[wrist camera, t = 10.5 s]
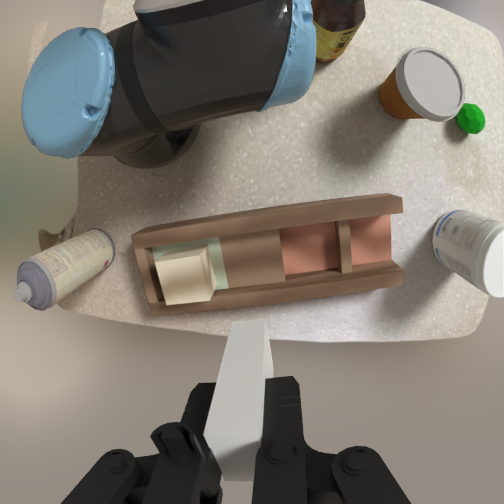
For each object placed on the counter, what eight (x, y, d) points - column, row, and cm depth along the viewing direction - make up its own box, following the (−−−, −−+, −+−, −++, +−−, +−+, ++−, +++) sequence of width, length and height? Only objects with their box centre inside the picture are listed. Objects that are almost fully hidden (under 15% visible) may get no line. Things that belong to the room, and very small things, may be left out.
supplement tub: (473, 259, 42) (524, 291, 28) (430, 269, 43) (478, 309, 29) (473, 204, 39) (531, 222, 25) (428, 210, 40) (484, 232, 26)
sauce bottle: (334, 70, 36) (377, 8, 17) (293, 53, 35) (307, -22, 16) (349, 37, 34) (394, -32, 15) (310, 20, 34) (330, -60, 15)
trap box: (146, 227, 44) (130, 235, 39) (387, 193, 40) (402, 197, 35) (164, 299, 47) (152, 315, 42) (390, 270, 43) (403, 284, 38)
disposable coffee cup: (372, 128, 38) (406, 116, 26) (364, 66, 35) (393, 37, 24) (428, 131, 37) (473, 124, 25) (420, 72, 34) (460, 51, 23)
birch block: (167, 251, 42) (154, 262, 37) (207, 244, 41) (199, 255, 36) (177, 290, 43) (166, 305, 38) (216, 285, 43) (209, 300, 38)
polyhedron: (453, 133, 36) (470, 132, 32) (449, 103, 35) (465, 99, 31) (475, 135, 36) (492, 134, 31) (471, 106, 35) (487, 103, 30)
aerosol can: (77, 254, 46) (-1, 300, 27) (89, 221, 44) (3, 256, 25) (107, 275, 47) (34, 333, 28) (120, 242, 45) (41, 290, 26)
